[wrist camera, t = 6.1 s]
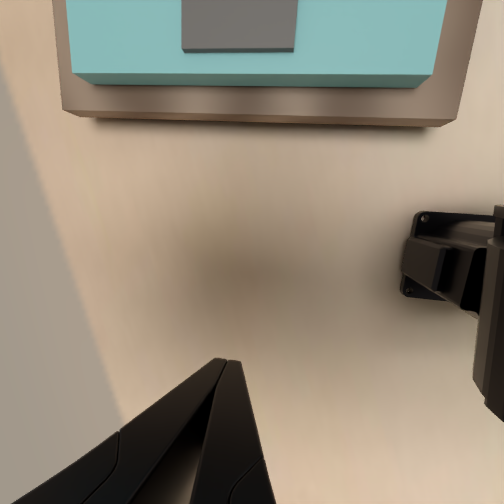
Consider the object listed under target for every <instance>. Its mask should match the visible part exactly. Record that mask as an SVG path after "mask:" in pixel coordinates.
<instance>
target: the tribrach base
mask: <svg viewBox="0 0 504 504" xmlns="http://www.w3.org/2000/svg"><path fill="white" fill-rule="evenodd" d="M482 1H483V0H447V4H446V9H445V14H444V19H443V24H442V29H441V34H440V39H439V44H438V49H437V54H436V59H435V64H434V69H433V74H432V75H431V76H430V77H429V78H428V79H427V80H425V81H424V82H423V83H422V84H421V85H419V86H418V87H417V88H387V87H292V86H197V85H101V84H90V83H88V82H87V81H85V80H83V79H82V78H80V77H78V76H77V75H75V74H73V73H72V65H71V54H70V43H69V31H68V20H67V9H66V0H52V4H53V15H54V26H55V36H56V47H57V57H58V68H59V78H60V89H61V99H62V110H64V111H67V112H69V113H72V114H74V115H76V116H79V117H97V118H133V119H169V120H205V121H241V122H277V123H313V124H349V125H385V126H421V127H441V126H443V125H445V124H447V123H450V122H452V121H454V120H456V118H457V113H458V109H459V104H460V100H461V96H462V91H463V87H464V82H465V78H466V73H467V69H468V64H469V60H470V55H471V51H472V46H473V42H474V37H475V33H476V28H477V24H478V19H479V15H480V10H481V6H482Z"/></svg>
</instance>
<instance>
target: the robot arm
mask: <svg viewBox="0 0 504 504" xmlns="http://www.w3.org/2000/svg"><path fill="white" fill-rule="evenodd" d="M423 215H425V216H426V219H425V220H424V221H422V220H421V218H422V216H423ZM401 271H402V272H403V277H402V282H401V287H400V291H401V293H402V294H403V295H405V296H406V297H412V298H422V299H431V300H441V301H449V302H450V303H452V304H454V305H455V306H457V307H458V308H460V309H462V310H463V311H465V312H466V313H468V314H470V315H471V316H473V317H475V318H476V319H478V328H477V336H476V345H475V354H474V362H473V380H474V382H475V383H476V385H477V387H478V388H479V390H480V392H481V393H482V395H483V396H484V397H485V401H484V404H485V405H486V407H487V408H488V409H490V410H491V411H492V412H493V413H494V414H495V415H496V416H497V417H498V418H499V419H500V420H502V421H503V422H504V205H494V214H493V216H490V215H475V214H459V213H444V212H429V211H421V212H419V213H417V214H416V216H415V219H414V224H413V228H412V233H411V237H410V238H409V239H408V240H407V245H406V250H405V254H404V259H403V264H402V269H401ZM407 288H410V291H409V292H406V289H407ZM12 504H276V501H275V497H274V493H273V490H272V486H271V482H270V479H269V475H268V471H267V467H266V463H265V460H264V455H263V451H262V447H261V443H260V439H259V434H258V430H257V426H256V422H255V418H254V414H253V409H252V405H251V401H250V397H249V393H248V389H247V385H246V380H245V376H244V372H243V368H242V364H241V362H240V361H236V360H228V361H227V360H226V359H222V358H214V359H213V360H211V361H210V362H209V363H207V364H206V365H205V366H203V367H202V368H201V369H199V370H198V371H197V372H195V373H194V374H193V375H191V376H190V377H189V378H187V379H186V380H185V381H183V382H182V383H181V384H179V385H178V386H177V387H175V388H174V389H173V390H171V391H170V392H169V393H167V394H166V395H165V396H163V397H162V398H161V399H159V400H158V401H157V402H155V403H154V404H153V405H151V406H150V407H149V408H147V409H146V410H145V411H143V412H142V413H141V414H139V415H138V416H137V417H135V418H134V419H133V420H131V421H130V422H129V423H127V424H126V425H125V426H123V427H122V428H121V429H120V431H117V432H115V433H114V434H113V435H111V436H110V437H108V438H107V439H106V440H105V441H103V442H102V443H100V444H99V445H98V446H96V447H95V448H94V449H92V450H91V451H89V452H88V453H87V454H85V455H84V456H82V457H81V458H80V459H78V460H77V461H75V462H74V463H72V464H71V465H69V466H68V467H67V468H65V469H63V470H62V471H60V472H59V473H57V474H56V475H54V476H53V477H51V478H50V479H49V480H47V481H46V482H44V483H42V484H41V485H39V486H38V487H36V488H35V489H33V490H32V491H30V492H29V493H27V494H25V495H24V496H22V497H21V498H19V499H18V500H16V501H15V502H13V503H12Z"/></svg>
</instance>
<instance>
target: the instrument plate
mask: <svg viewBox="0 0 504 504" xmlns="http://www.w3.org/2000/svg"><path fill="white" fill-rule="evenodd" d="M446 4H447V0H66V9H67V20H68V31H69V43H70V54H71V65H72V73H73V74H75V75H77V76H78V77H80V78H82V79H83V80H85V81H87V82H88V83H90V84H101V85H197V86H292V87H387V88H417V87H418V86H419V85H421V84H422V83H423V82H424V81H425V80H427V79H428V78H429V77H430V76H431V75H432V74H433V69H434V64H435V59H436V54H437V49H438V44H439V39H440V34H441V29H442V24H443V19H444V14H445V9H446Z"/></svg>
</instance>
